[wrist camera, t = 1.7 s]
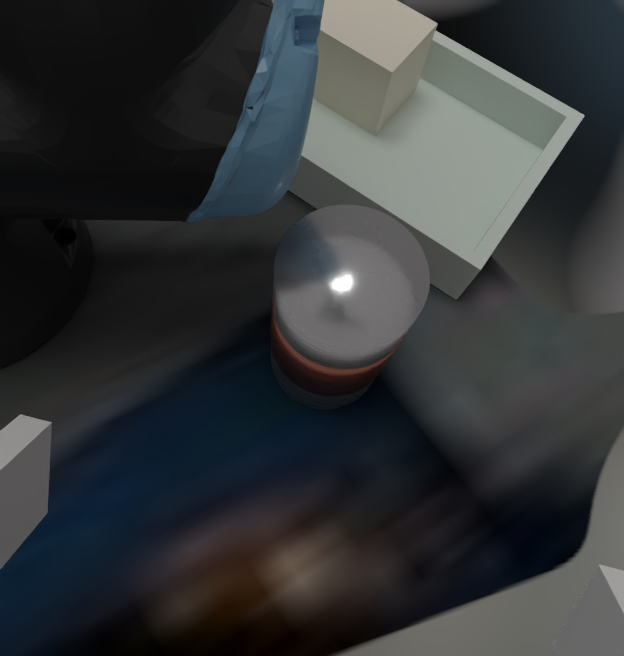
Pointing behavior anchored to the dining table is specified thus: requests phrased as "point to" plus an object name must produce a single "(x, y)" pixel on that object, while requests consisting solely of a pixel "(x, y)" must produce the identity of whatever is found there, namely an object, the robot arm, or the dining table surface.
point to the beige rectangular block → (370, 58)
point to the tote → (442, 159)
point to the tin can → (342, 302)
